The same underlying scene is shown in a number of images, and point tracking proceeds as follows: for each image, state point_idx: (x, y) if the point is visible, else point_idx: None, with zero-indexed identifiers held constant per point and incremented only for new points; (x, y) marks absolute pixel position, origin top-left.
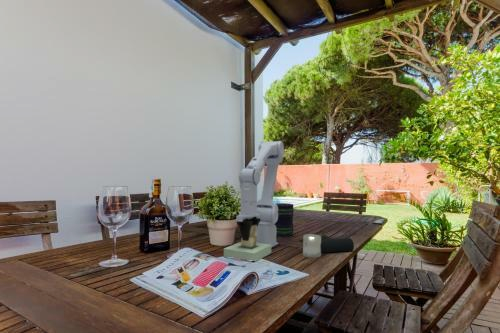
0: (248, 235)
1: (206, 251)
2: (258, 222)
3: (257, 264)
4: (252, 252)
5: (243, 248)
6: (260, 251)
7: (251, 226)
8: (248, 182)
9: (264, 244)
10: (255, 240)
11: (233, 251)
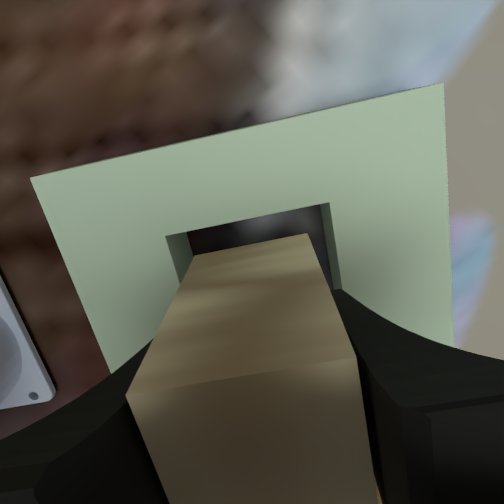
0: (362, 305)
1: (379, 494)
2: (30, 441)
3: (440, 27)
4: (427, 119)
5: (349, 281)
6: (293, 117)
7: (328, 380)
8: None
9: (80, 236)
10: (210, 269)
11: (446, 301)
